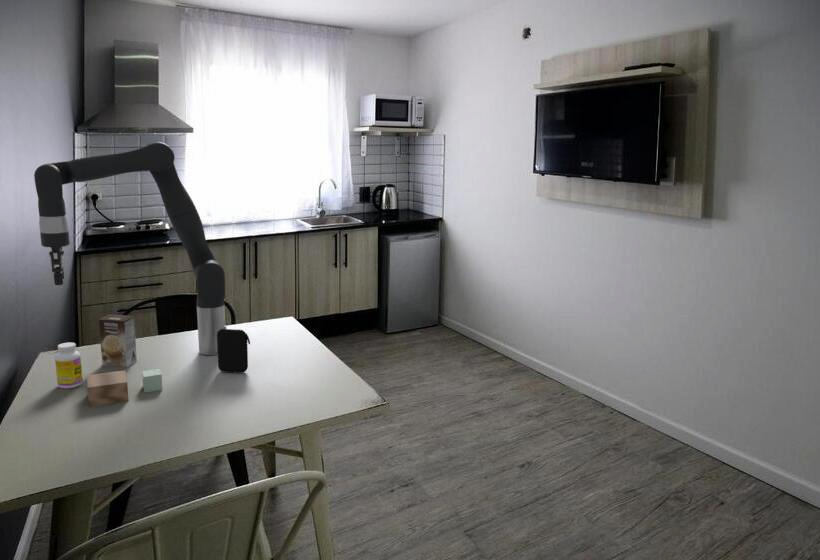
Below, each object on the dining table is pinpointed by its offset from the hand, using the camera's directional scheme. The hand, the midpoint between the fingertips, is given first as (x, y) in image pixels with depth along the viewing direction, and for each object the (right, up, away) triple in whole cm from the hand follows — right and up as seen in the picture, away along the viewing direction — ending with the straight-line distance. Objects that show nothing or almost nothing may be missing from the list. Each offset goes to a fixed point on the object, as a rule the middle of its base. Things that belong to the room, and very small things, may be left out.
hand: (59, 281), depth 183 cm
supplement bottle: (+6, -32, -5) cm, 32 cm away
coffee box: (+12, -28, +14) cm, 33 cm away
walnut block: (+22, -34, -12) cm, 42 cm away
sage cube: (+31, -32, -5) cm, 45 cm away
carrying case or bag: (+52, -30, +9) cm, 61 cm away
